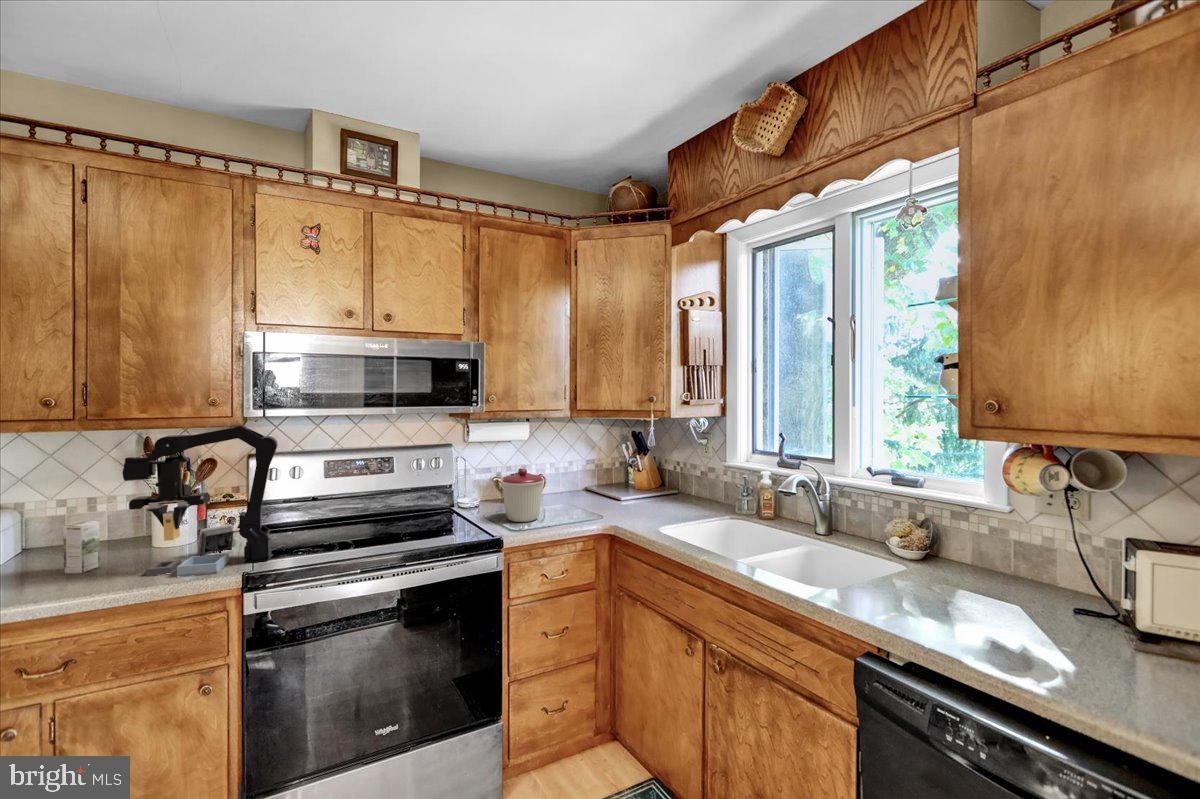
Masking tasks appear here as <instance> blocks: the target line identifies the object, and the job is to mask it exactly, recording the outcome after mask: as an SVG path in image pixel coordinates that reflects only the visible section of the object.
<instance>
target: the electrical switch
mask: <svg viewBox="0 0 1200 799" xmlns="http://www.w3.org/2000/svg"><path fill="white" fill-rule="evenodd" d="M233 537H234V525H233V524H231V523H229V524H224V525H218V526H213V527H207V528H202V529H200V530H199V536H198V547H197V548H198V550H197V551H198V552H197V554H198V556H200V555H201V554H202V555H201V556H203V555H206V554H210V553H215V551H218V552H220V551H223V550H232V551H233V539H234V538H233Z"/></svg>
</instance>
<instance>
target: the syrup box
mask: <svg viewBox="0 0 1200 799" xmlns="http://www.w3.org/2000/svg"><path fill="white" fill-rule="evenodd" d="M62 528H63V529H62V530H63V531H62V532H63V534H62V535H63V573H64V574H84V573H87V572H90V571H92V570H96V569H98V568H100V560H101V559H100V555H101V554H100V521H97V520H82V521H81V520H80V521H77V522H74V523H73V522H72V523H70V524H66V525H63V527H62ZM95 568H96V569H95Z"/></svg>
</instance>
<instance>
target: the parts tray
mask: <svg viewBox="0 0 1200 799" xmlns="http://www.w3.org/2000/svg"><path fill="white" fill-rule="evenodd" d="M229 553H230V552H227V553H222V554H215V555H201V556H200V555H193V556H190V557H189V558H187V559H186V560H184V561H183V562H181V564H180V565H179V566H177V570H176V577H177V576H184V577H192V576H191V575H195V576H206V575H215V573H217V574H218V573H219V572H220V571H222V570H223V569H224V568H225V567H226V566H227V565H228V564H229V563H230V554H229ZM228 562H229V563H228ZM227 563H228V564H227ZM226 564H227V565H226ZM225 565H226V566H225ZM224 566H225V567H224ZM223 567H224V568H223ZM222 568H223V569H222ZM221 569H222V570H221Z"/></svg>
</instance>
